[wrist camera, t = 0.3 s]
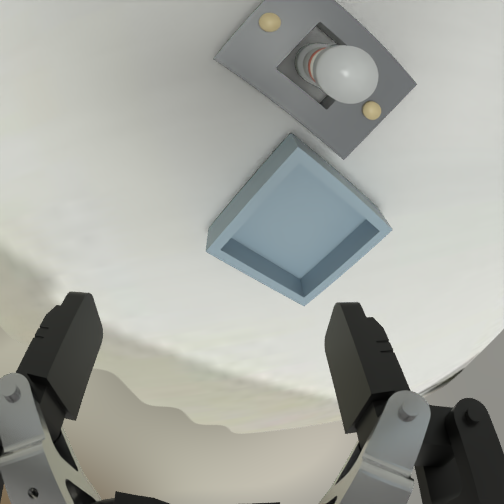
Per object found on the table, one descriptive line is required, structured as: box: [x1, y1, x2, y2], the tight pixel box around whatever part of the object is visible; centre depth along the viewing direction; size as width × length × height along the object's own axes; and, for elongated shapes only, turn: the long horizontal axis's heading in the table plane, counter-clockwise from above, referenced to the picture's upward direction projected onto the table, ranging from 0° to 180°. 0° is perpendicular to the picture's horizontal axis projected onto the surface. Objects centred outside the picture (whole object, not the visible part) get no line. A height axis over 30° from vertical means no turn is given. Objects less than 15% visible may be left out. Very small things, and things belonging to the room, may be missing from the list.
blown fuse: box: [295, 43, 378, 104], centre depth 20 cm, size 4×4×9 cm
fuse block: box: [214, 0, 417, 160], centre depth 22 cm, size 10×14×3 cm
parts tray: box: [206, 133, 392, 306], centre depth 32 cm, size 13×13×4 cm
